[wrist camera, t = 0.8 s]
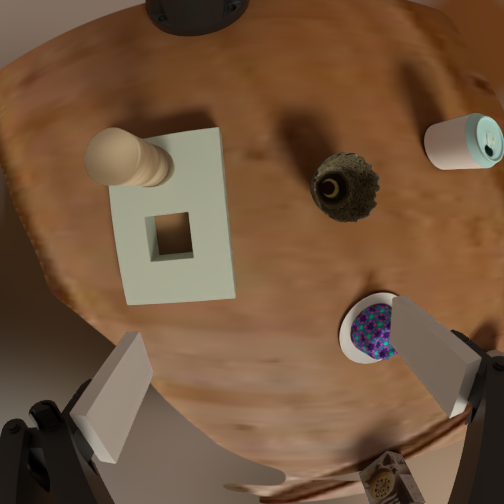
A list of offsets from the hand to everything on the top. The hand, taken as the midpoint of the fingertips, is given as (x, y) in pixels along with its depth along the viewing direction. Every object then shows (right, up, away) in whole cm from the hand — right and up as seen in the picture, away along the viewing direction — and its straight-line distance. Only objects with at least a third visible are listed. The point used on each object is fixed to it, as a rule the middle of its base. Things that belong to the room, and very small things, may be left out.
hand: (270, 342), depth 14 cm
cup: (+9, +13, +23) cm, 28 cm away
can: (+27, +20, +22) cm, 40 cm away
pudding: (+18, -7, +27) cm, 33 cm away
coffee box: (+28, -44, +35) cm, 62 cm away
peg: (-11, +14, +18) cm, 25 cm away
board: (-11, +9, +23) cm, 27 cm away
